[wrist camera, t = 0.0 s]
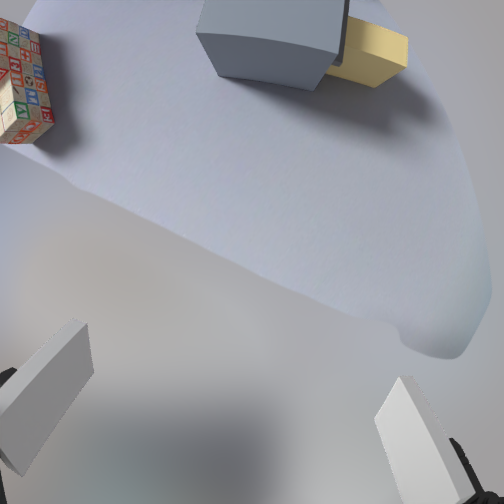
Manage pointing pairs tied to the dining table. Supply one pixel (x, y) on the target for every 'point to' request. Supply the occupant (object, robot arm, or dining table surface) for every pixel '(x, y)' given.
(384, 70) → the upright yellow slab
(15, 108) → the stack of blocks
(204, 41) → the dispenser
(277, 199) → the dining table surface
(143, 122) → the dining table surface
